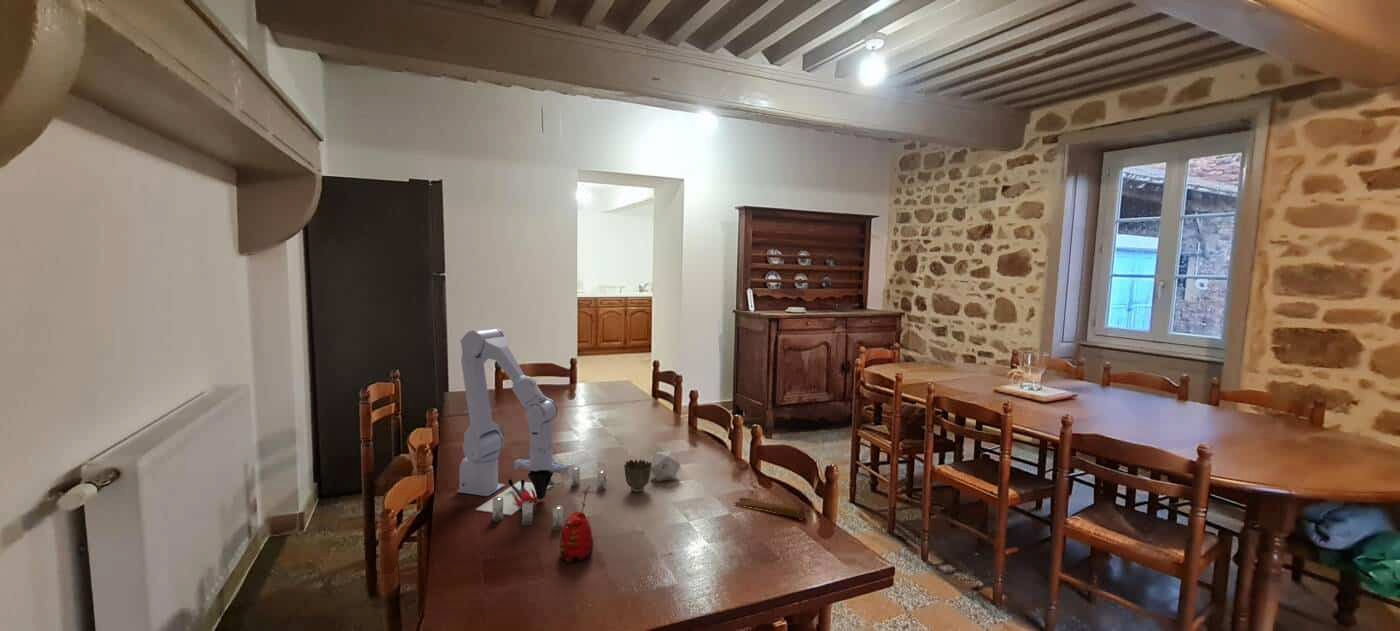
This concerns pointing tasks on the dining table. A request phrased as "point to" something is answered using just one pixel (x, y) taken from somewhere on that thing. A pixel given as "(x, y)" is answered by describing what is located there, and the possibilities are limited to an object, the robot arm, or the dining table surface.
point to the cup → (637, 474)
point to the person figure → (524, 494)
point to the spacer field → (557, 510)
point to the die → (665, 465)
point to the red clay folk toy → (576, 537)
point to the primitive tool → (773, 507)
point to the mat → (509, 499)
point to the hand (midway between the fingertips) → (541, 497)
